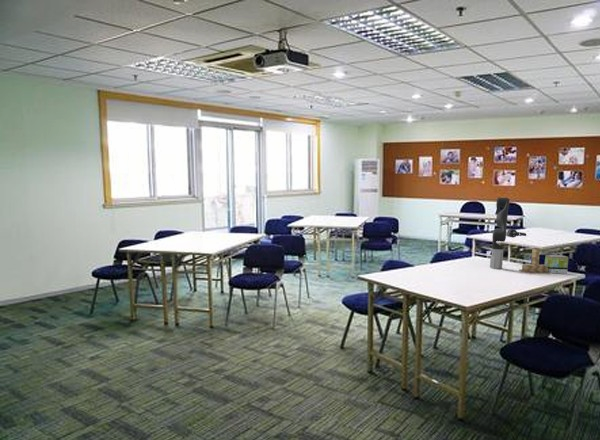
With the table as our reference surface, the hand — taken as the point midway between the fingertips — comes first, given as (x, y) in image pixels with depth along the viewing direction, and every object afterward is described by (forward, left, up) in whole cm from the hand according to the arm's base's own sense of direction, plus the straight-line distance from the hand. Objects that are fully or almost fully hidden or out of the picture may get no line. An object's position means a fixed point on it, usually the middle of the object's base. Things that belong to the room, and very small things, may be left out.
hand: (521, 234), depth 414 cm
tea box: (+18, -23, -30) cm, 42 cm away
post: (-1, -22, -24) cm, 32 cm away
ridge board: (-1, -22, -30) cm, 37 cm away
